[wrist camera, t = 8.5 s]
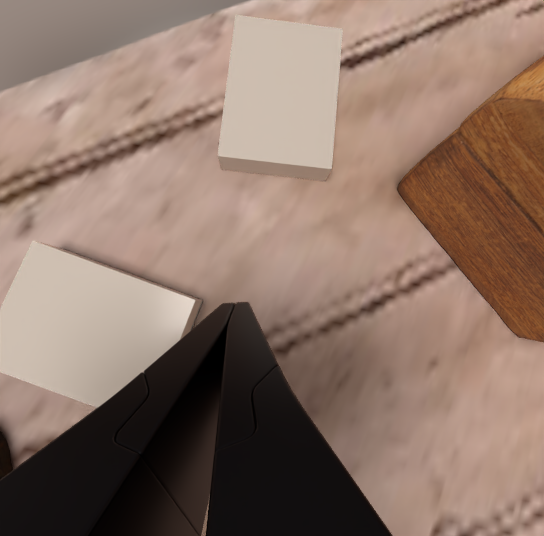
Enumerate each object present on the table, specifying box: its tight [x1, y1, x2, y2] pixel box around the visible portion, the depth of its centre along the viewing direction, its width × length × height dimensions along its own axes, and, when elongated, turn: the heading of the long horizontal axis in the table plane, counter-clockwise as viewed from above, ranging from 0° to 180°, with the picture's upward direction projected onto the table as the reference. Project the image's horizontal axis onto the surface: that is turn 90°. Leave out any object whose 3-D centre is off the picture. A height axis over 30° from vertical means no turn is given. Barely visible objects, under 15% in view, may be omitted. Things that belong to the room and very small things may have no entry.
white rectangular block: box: [218, 15, 343, 181], centre depth 23 cm, size 3×8×11 cm
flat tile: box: [0, 241, 203, 408], centre depth 20 cm, size 11×8×3 cm
